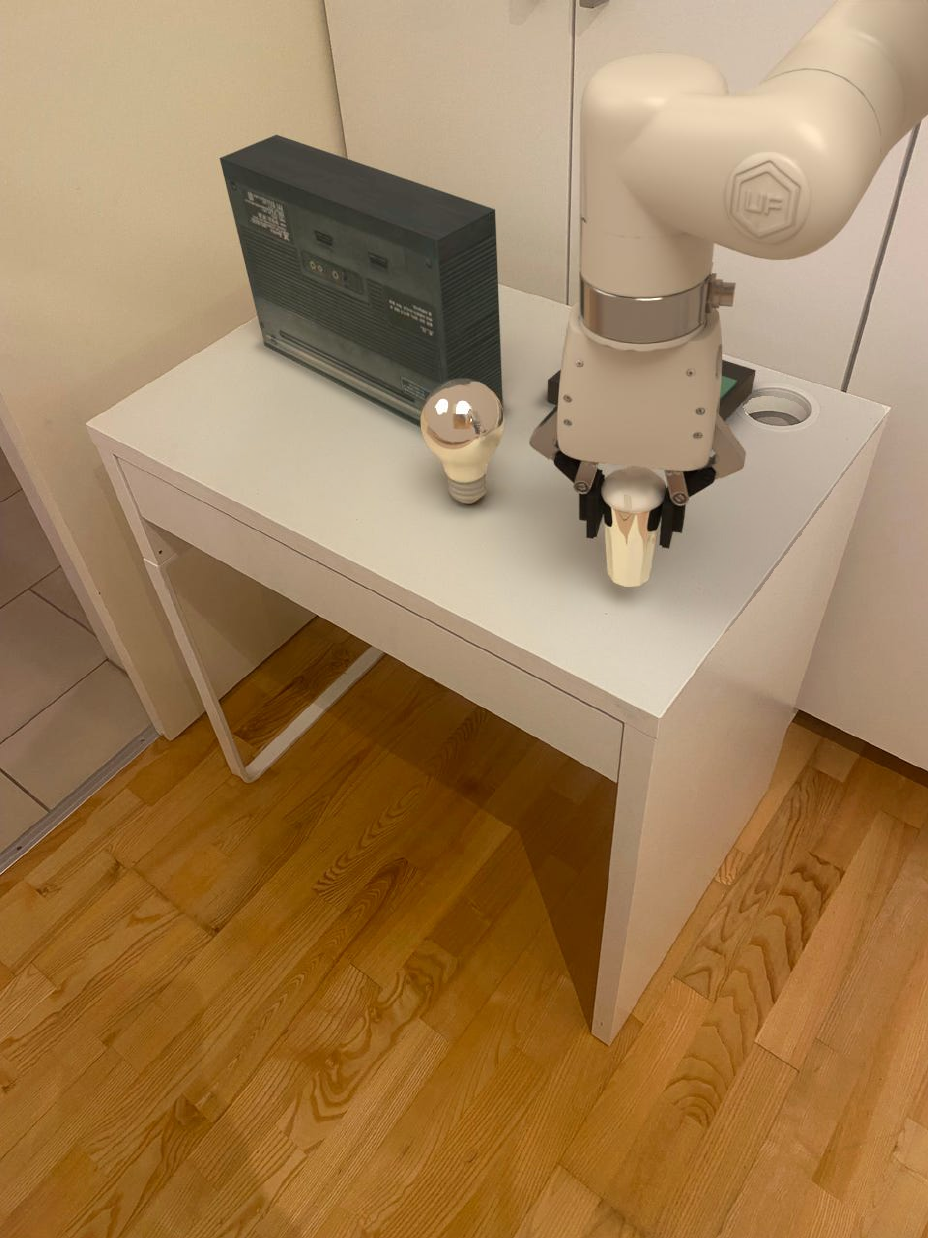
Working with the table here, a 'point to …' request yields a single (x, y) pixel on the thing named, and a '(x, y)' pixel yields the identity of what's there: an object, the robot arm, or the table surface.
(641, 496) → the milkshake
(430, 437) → the light bulb
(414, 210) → the cassette player
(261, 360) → the table surface
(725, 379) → the scale
